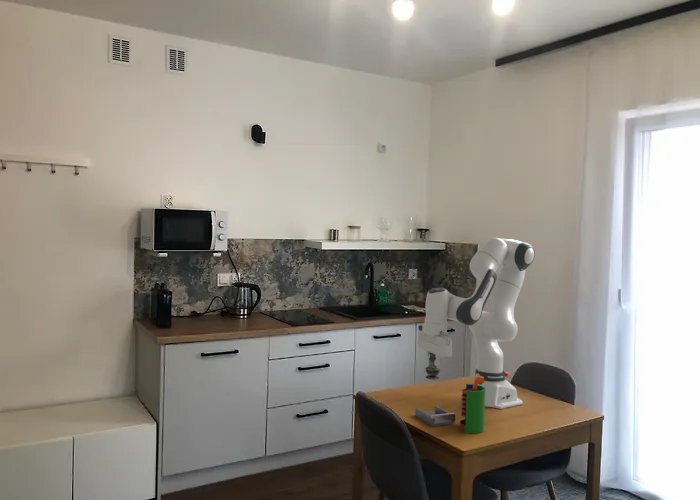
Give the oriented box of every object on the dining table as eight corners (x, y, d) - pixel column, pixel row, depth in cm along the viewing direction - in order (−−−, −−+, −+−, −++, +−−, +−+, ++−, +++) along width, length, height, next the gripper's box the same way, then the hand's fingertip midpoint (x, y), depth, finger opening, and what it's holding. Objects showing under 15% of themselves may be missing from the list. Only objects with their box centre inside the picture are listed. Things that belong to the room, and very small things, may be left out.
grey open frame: (415, 415, 230) (415, 405, 229) (436, 413, 234) (437, 403, 233) (432, 426, 218) (432, 416, 217) (454, 423, 222) (455, 413, 222)
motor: (456, 423, 222) (459, 372, 221) (478, 424, 223) (481, 372, 222) (463, 433, 212) (466, 379, 211) (487, 433, 213) (490, 380, 212)
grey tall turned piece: (442, 379, 226) (444, 349, 225) (428, 379, 224) (430, 349, 223) (436, 375, 231) (437, 345, 231) (422, 375, 230) (424, 346, 229)
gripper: (457, 334, 219) (455, 370, 219) (428, 324, 237) (426, 357, 238) (443, 334, 216) (440, 371, 217) (415, 324, 235) (413, 358, 235)
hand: (433, 364), depth 227 cm, fingers closed on grey tall turned piece, 3 cm apart
